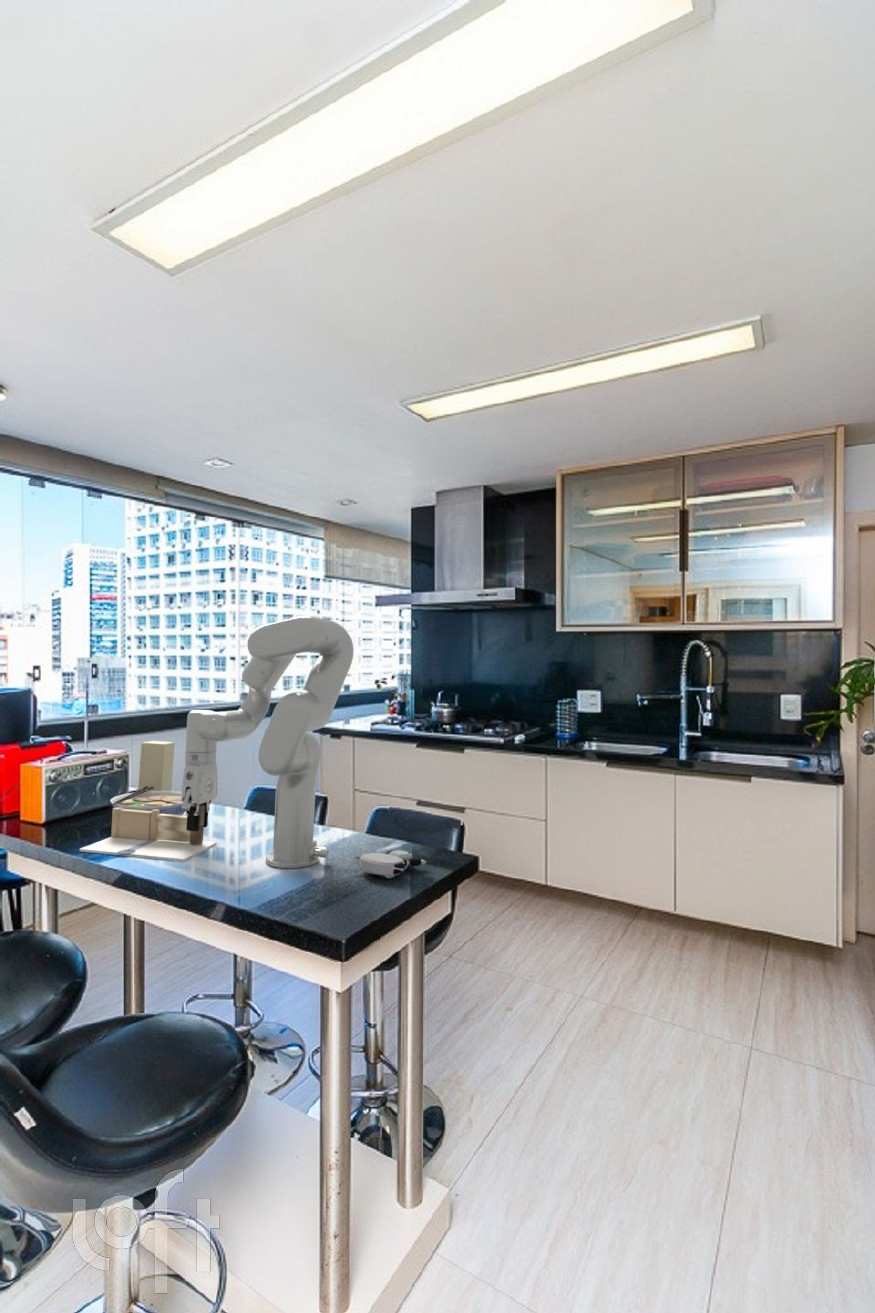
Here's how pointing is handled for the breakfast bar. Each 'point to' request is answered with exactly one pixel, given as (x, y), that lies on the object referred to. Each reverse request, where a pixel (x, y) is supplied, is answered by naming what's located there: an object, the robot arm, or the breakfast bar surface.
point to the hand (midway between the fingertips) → (197, 828)
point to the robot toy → (388, 862)
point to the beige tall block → (156, 765)
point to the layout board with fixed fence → (143, 838)
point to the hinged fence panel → (180, 828)
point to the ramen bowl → (151, 801)
